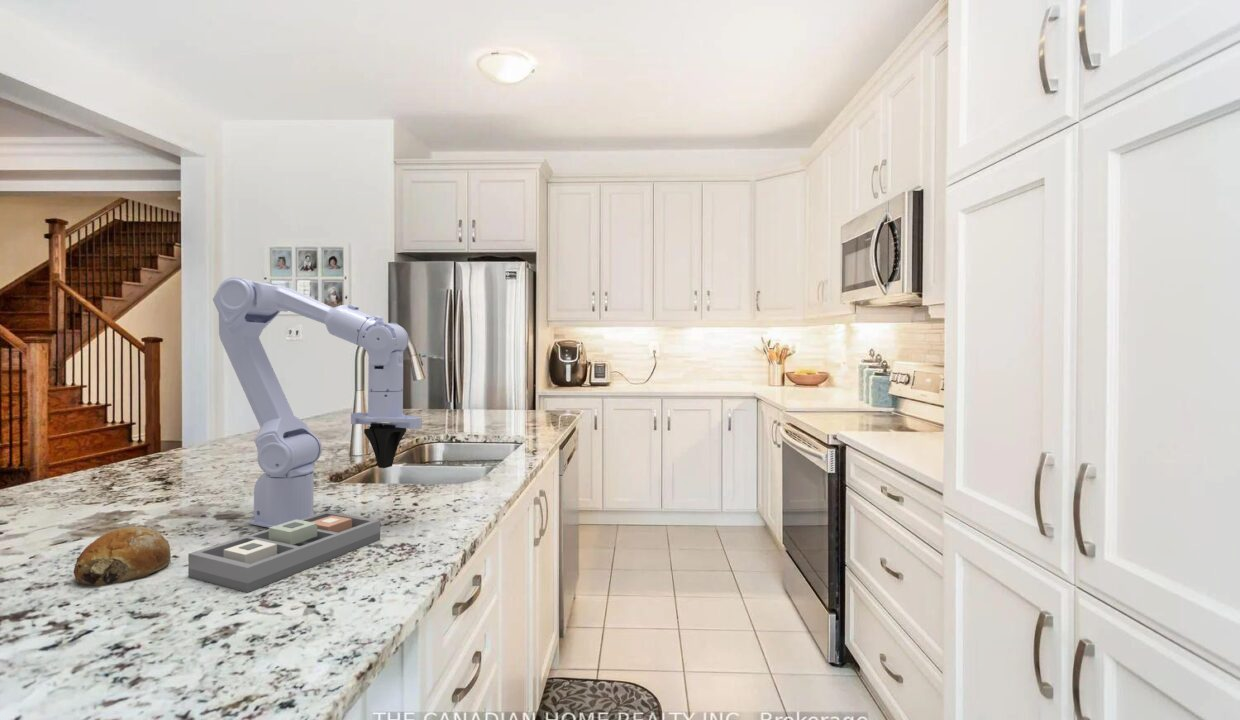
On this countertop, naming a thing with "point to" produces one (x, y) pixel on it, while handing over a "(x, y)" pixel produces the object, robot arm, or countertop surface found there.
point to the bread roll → (122, 556)
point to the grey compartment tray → (280, 555)
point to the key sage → (293, 532)
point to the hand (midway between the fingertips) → (385, 466)
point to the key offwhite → (251, 551)
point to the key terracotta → (334, 523)
